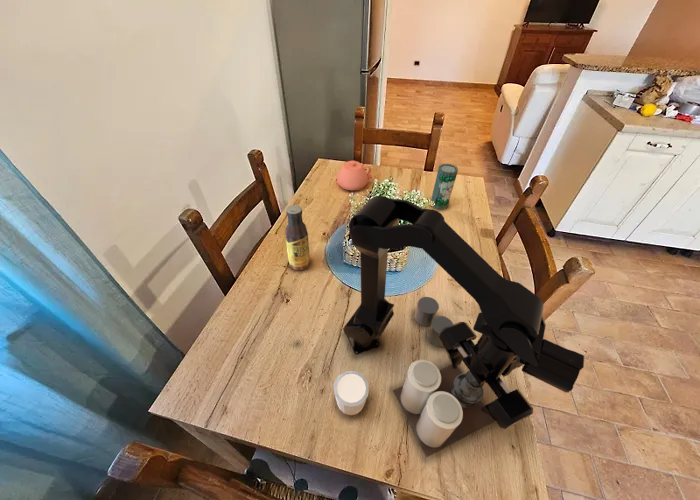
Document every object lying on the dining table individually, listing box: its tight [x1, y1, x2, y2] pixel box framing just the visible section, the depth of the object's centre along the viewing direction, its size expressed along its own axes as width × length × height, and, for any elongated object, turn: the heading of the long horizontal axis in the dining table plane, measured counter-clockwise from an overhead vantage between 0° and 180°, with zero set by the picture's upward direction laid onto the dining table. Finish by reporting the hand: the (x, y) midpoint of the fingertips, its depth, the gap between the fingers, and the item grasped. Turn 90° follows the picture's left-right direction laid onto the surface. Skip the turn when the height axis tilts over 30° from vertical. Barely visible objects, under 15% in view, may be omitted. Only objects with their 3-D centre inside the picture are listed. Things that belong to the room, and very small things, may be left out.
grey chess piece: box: [451, 370, 485, 408], centre depth 60 cm, size 6×6×12 cm
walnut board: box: [392, 365, 495, 458], centre depth 63 cm, size 16×13×1 cm
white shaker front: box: [416, 391, 463, 447], centre depth 56 cm, size 6×6×12 cm
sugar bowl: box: [336, 160, 373, 191], centre depth 120 cm, size 12×14×10 cm
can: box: [430, 163, 459, 211], centre depth 109 cm, size 6×6×15 cm
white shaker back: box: [401, 359, 441, 414], centre depth 60 cm, size 6×6×12 cm
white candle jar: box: [333, 370, 370, 416], centre depth 62 cm, size 7×7×7 cm
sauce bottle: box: [284, 204, 311, 271], centre depth 85 cm, size 7×6×20 cm
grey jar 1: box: [413, 296, 440, 327], centre depth 77 cm, size 5×5×6 cm
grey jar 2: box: [426, 315, 454, 348], centre depth 73 cm, size 5×5×6 cm
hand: (468, 387), depth 62 cm, fingers open, 9 cm apart
